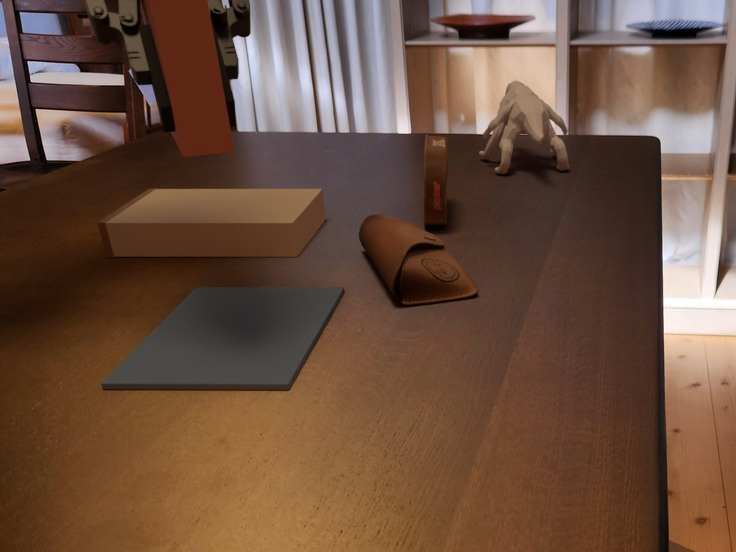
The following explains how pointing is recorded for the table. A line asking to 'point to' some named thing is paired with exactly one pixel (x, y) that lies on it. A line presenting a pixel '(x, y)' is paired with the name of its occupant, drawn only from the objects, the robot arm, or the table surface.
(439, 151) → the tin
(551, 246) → the table surface
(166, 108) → the robot arm
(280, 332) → the mat
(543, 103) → the beige creature figurine
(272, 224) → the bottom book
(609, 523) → the table surface
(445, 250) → the sunglasses case
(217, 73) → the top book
